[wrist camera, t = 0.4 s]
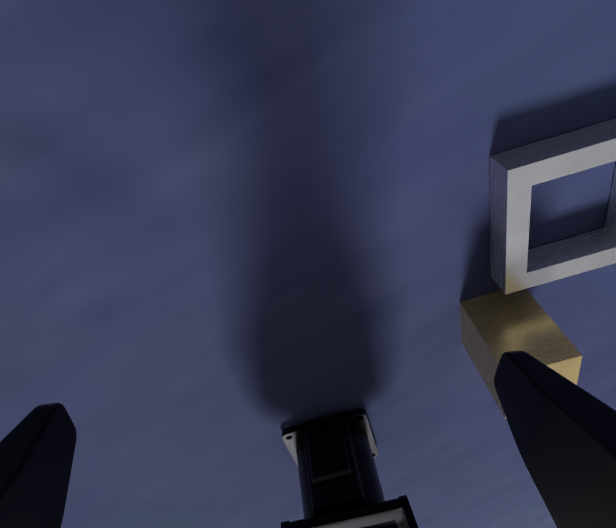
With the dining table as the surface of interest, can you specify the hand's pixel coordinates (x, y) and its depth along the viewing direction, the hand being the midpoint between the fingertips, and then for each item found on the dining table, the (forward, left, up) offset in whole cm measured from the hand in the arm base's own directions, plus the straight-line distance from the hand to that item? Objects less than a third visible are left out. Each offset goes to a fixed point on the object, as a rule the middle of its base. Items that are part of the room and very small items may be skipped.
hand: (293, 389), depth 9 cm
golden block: (-15, -11, -14) cm, 23 cm away
